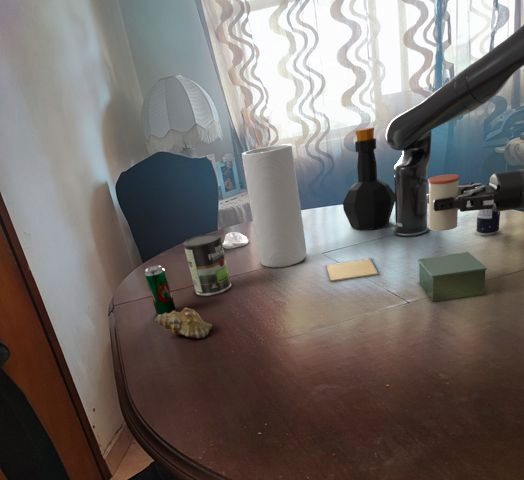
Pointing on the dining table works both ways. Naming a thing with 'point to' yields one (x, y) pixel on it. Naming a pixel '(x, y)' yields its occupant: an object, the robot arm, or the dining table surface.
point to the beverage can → (487, 221)
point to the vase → (275, 205)
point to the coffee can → (207, 264)
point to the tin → (452, 276)
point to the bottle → (368, 188)
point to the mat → (351, 269)
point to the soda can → (159, 289)
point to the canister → (437, 190)
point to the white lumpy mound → (234, 240)
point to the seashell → (185, 323)
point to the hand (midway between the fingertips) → (430, 202)
